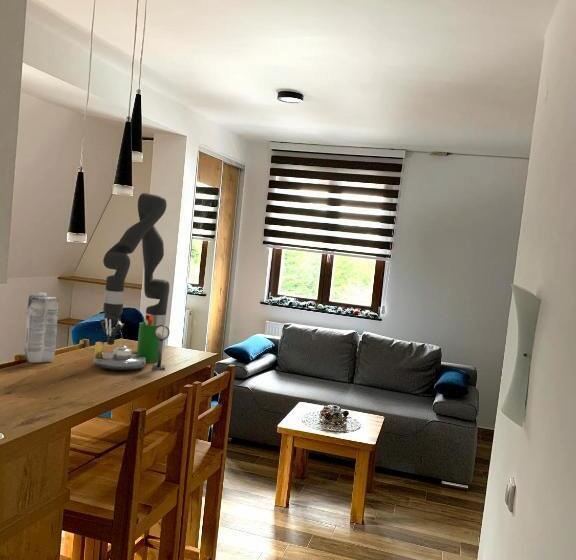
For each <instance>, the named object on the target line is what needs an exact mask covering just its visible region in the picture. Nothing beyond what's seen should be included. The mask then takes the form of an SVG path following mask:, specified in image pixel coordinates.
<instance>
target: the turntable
mask: <svg viewBox="0 0 576 560" xmlns="http://www.w3.org/2000/svg"><path fill="white" fill-rule="evenodd" d="M113 352H114V351H113ZM113 352H104V341H103V342H102V341H95V348H94V356H93V365H95V366H98V367H100V368H106V369H108V368H111V369H110V370H112V369H130V370H134V369H135V370H137V369H140V368H143V367H145V366H146V363H147V362H146V358H145V357H143V356H141V355H137V353H132V354H131V359H129V360H119V359H114V358H113Z"/></svg>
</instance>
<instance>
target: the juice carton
mask: <svg viewBox="0 0 576 560" xmlns="http://www.w3.org/2000/svg"><path fill="white" fill-rule="evenodd" d="M27 300H28V303H27V311H26V322H25V323H26V324H25V336H24V337H25V338H24V340H25V341H24V355H25V356H24V357H25V359H26V360H27V361H28V362H29V363H33V364H34V363H37V364H38V363H52V362H53V360H54V357H55V353H56V342H57V330H58V318H59V317H58V316H59V298H57V297H55V296H54V295H47V292H38V295H34V294H33V295H32V294H31V295H29V296H28V299H27Z"/></svg>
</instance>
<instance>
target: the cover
mask: <svg viewBox="0 0 576 560" xmlns="http://www.w3.org/2000/svg"><path fill="white" fill-rule="evenodd" d="M132 350H133V349H132V348H129V347H128V346H127V345H119V346H118V347H114V348H113V358H114V359H119V360H129V359H131V354H133V353H132V352H133V351H132Z"/></svg>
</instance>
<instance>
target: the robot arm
mask: <svg viewBox="0 0 576 560" xmlns="http://www.w3.org/2000/svg"><path fill="white" fill-rule="evenodd" d="M166 209H167V200H166V198H165V197H163V196H161V195H157V194H153V193H148V192H142V193H141V194H140V195H139V196H138V200H137V213H138V218H139V222H136V223H135V224H133V225H131V226H130V227H129V228H127V229H126V231H125V232H124V233H123V235H122V236H121V238H120V240H119V241H118V242H116V243H115V244H114V245H113V246H111V248H110V249H108V250H107V252H106V253H105V255H104V256H103V260H102V262H103V266H104V267H105V268H106V269H109V270H115V273H114V275H113V274H112V275H108V276H107V277H106V279H105V280H106V282H105V290H104V291H105V292H104V295H103V297H104V298H103V310H102V312H103V314H104V318H101V319H99V322H100V324H101V328H102V330H103V333H104V334H105V333H106V336H107V338H106V344H107V345H109V346H113V345H114V344H115V340H116V339H115V337H116V336H119V334H120V332H121V331H122V330H123V328H124V326H125V323H122V320H121V319H122V318H121V315H122V314H123V313H124V312H123V310H124V301H125V299H124V297H125V296H124V295H125V293H124V291H125V280H126V278H127V275H128V272H129V270H130V266H131V258H130V256H129V255H130V254H132V253H134V252H135V250H136V248H137V247H138V246H139V244H140V243H141V245H142V257H143V258H142V259H143V267H144V268H143V270H144V271H143V272H144V274H143V275H144V277H143V278H144V280H143V282H144V283H143V290H144V296H145V297H146V298H147V299H152V300H159V301H158V303H156V304H153V305H149V306H147V307H146V309H145V318H144V319H146V315H147V314H150V315H153V325H154V326H159V325H165V326H166V321H167V319H166V318H167V310H168V303H169V302H168V300H169V294H170V281H168V280H167V279H159V278H154V272H155V270H156V269H157V267H158V266H159V264H160V263H161V262H162V260H163V258H164V255H165V247H164V240H163V238H162V236H161V234H160V233H159V231H158V229H157V228H156V226H155V225H156V223H158V221H160V220H161V218H162V217H163V216H164V214H165V212H166ZM144 322H146V325H148V320H145V321H144ZM165 345H166V339H165V340H163V349H162V352H163V351H165Z"/></svg>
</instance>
